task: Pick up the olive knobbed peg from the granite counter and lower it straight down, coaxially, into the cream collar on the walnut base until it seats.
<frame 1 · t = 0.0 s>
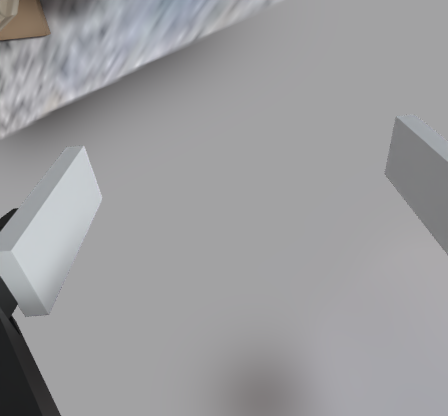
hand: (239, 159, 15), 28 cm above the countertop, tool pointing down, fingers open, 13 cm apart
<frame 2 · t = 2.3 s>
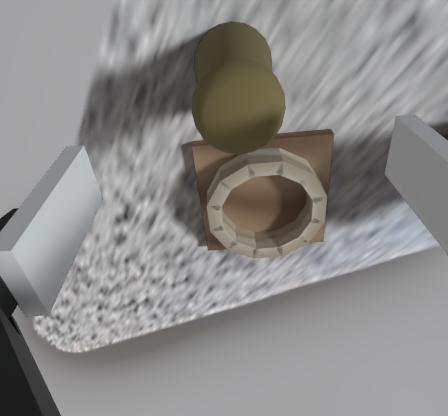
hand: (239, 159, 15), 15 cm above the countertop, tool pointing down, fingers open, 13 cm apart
collar base: (262, 192, 34), on the countertop
olive knobbed peg: (232, 64, 28), on the countertop
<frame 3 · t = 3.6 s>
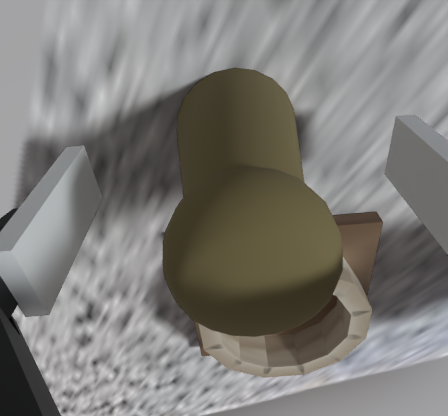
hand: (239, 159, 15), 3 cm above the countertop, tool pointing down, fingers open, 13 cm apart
collar base: (276, 287, 25), on the countertop
olive knobbed peg: (235, 128, 18), on the countertop
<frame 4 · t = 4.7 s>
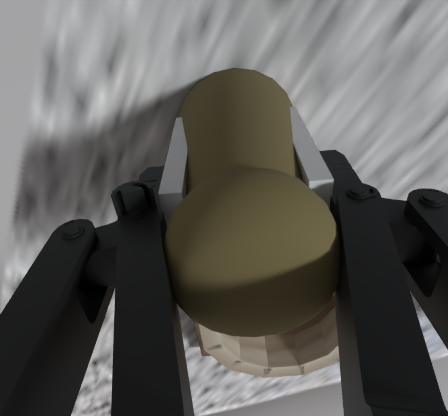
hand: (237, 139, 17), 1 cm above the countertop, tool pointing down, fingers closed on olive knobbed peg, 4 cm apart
collar base: (276, 288, 25), on the countertop
olive knobbed peg: (236, 128, 18), on the countertop, touching gripper
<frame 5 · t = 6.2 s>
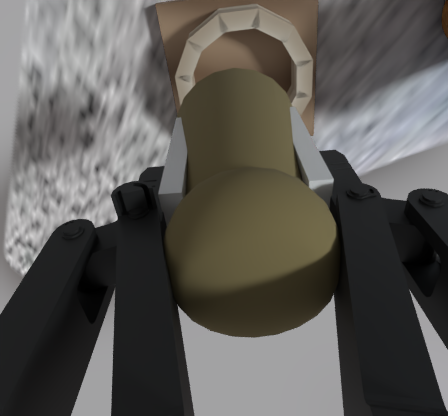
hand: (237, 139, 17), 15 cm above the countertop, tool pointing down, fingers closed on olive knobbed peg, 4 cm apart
collar base: (242, 73, 30), on the countertop
olive knobbed peg: (235, 128, 18), point 14 cm above the countertop, touching gripper
when the fingers open (4 cm above the countertop, at t = 7.9 s): olive knobbed peg drops 2 cm, resting on collar base.
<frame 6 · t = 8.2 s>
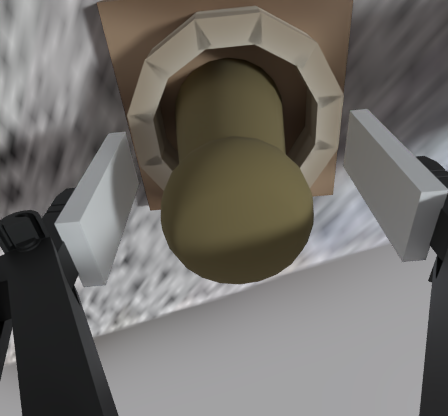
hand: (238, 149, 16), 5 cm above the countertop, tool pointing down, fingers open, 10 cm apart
collar base: (233, 108, 21), on the countertop
olive knobbed peg: (228, 113, 20), point 1 cm above the countertop, touching collar base
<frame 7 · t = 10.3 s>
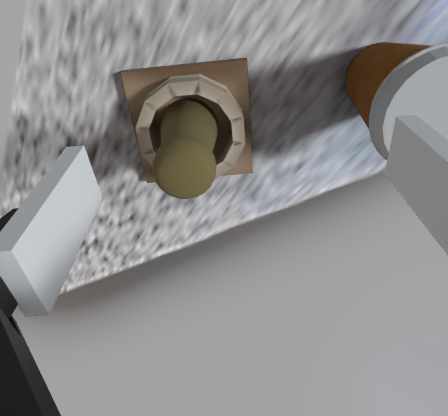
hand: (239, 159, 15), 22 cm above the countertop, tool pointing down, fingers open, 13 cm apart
collar base: (192, 123, 38), on the countertop
olive knobbed peg: (189, 126, 37), point 1 cm above the countertop, touching collar base
disposable coffee cup: (375, 75, 36), on the countertop
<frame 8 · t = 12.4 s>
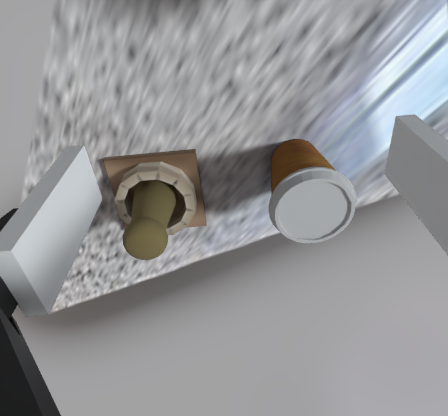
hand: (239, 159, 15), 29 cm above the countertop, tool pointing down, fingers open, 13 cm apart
collar base: (158, 191, 50), on the countertop
olive knobbed peg: (156, 194, 50), point 1 cm above the countertop, touching collar base
disposable coffee cup: (293, 159, 48), on the countertop
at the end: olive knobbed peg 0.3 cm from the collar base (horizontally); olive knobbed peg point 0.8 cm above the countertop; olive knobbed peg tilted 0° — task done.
